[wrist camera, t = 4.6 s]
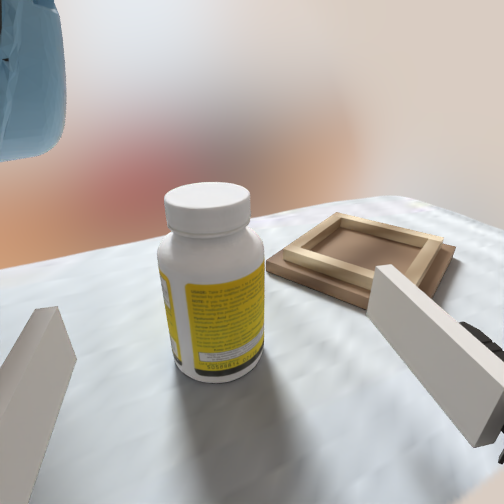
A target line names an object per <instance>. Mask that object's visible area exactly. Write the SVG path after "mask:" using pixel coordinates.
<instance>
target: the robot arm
mask: <svg viewBox="0 0 504 504" xmlns="http://www.w3.org/2000/svg"><path fill="white" fill-rule="evenodd" d="M65 117H66V74H65V60H64V48H63V38H62V31H61V23H60V16H59V14H58V11H57V9H56V6H55V4H54V0H0V162H4V161H11V160H17V159H22V158H29V157H35V156H39V155H41V154H44V153H46V152H48V151H49V150H50V149H52V148H53V147H54V146H55V145H56V144H57V143H58V141H59V140H60V138H61V135H62V133H63V129H64V124H65ZM366 315H367V316H368V318H369V319H370V320H371V321H372V323H373V324H374V325H375V326H376V328H377V329H378V330H379V331H380V333H381V334H382V335H383V336H384V338H385V339H386V340H387V341H388V343H389V344H390V345H391V346H392V348H393V349H394V350H395V351H396V353H397V354H398V355H399V356H400V358H401V359H402V360H403V361H404V363H405V364H406V365H407V366H408V368H409V369H410V370H411V371H412V373H413V374H414V375H415V376H416V378H417V379H418V380H419V381H420V383H421V384H422V385H423V386H424V388H425V389H426V390H427V391H428V392H429V394H430V395H431V396H432V397H433V399H434V400H435V401H436V402H437V404H438V405H439V406H440V407H441V409H442V410H443V411H444V412H445V414H446V415H447V416H448V417H449V419H450V420H451V421H452V422H453V424H454V425H455V426H456V427H457V429H458V430H459V431H460V432H461V434H462V435H463V436H464V437H465V439H466V440H467V441H468V442H469V444H470V445H471V446H472V447H473V448H477V447H481V446H485V445H489V444H493V443H494V442H495V441H496V439H497V437H498V435H499V434H500V432H501V431H502V432H503V433H504V351H502V348H501V347H499V346H498V345H497V344H496V343H495V342H494V343H493V342H492V340H491V339H490V338H489V337H487V336H486V335H485V334H484V333H483V332H481V331H480V330H479V329H477V328H475V327H473V326H471V325H469V324H467V323H465V322H459V323H458V322H457V321H456V320H455V319H454V318H452V317H451V316H450V315H449V314H448V313H447V312H446V311H444V310H443V309H442V308H441V307H440V306H439V305H438V304H436V303H435V302H434V301H433V300H432V299H431V298H429V297H428V296H427V295H426V294H425V293H424V292H423V291H421V290H420V289H419V288H418V287H417V286H416V285H415V284H413V283H412V282H411V281H410V280H409V279H408V278H406V277H405V276H404V275H403V274H402V273H401V272H400V271H398V270H397V269H396V268H395V267H394V266H393V265H392V264H389V265H381V266H376V267H375V272H374V277H373V282H372V288H371V293H370V298H369V303H368V308H367V313H366ZM76 360H77V358H76V355H75V353H74V350H73V347H72V345H71V342H70V339H69V336H68V334H67V331H66V328H65V325H64V323H63V320H62V317H61V314H60V312H59V309H58V306H55V307H48V308H40V309H35V310H34V312H33V314H32V315H31V317H30V319H29V320H28V322H27V324H26V326H25V327H24V329H23V331H22V332H21V334H20V336H19V337H18V339H17V341H16V343H15V344H14V346H13V348H12V349H11V351H10V353H9V354H8V356H7V358H6V360H5V361H4V363H3V365H2V366H1V368H0V504H28V502H29V499H30V496H31V493H32V490H33V487H34V485H35V482H36V479H37V476H38V473H39V470H40V467H41V464H42V461H43V458H44V455H45V452H46V449H47V446H48V443H49V440H50V437H51V434H52V431H53V428H54V425H55V422H56V419H57V417H58V414H59V411H60V408H61V405H62V402H63V399H64V396H65V393H66V390H67V387H68V384H69V381H70V378H71V375H72V372H73V369H74V366H75V363H76ZM498 463H500V464H503V463H504V449H503V451H502V453H501V454H500V456H499V460H498Z"/></svg>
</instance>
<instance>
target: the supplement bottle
mask: <svg viewBox="0 0 504 504" xmlns="http://www.w3.org/2000/svg"><path fill="white" fill-rule="evenodd" d="M164 204H165V212H166V219H167V225H168V228H169V229H170V230H171V231H172V232H170V233H169V234H167V235H166V236H165V237H164V238H163V240H162V241H161V243H160V245H159V247H158V251H157V259H158V267H159V273H160V279H161V285H162V291H163V297H164V303H165V309H166V316H167V322H168V327H169V334H170V340H171V346H172V352H173V356H174V359H175V362H176V364H177V366H178V367H179V369H180V370H181V371H182V372H183V373H184V374H186V375H187V376H189V377H190V378H192V379H195V380H198V381H201V382H206V383H223V382H229V381H232V380H235V379H237V378H240V377H242V376H243V375H245V374H247V373H248V372H249V371H251V370H252V369H253V368H254V367H255V365H256V364H257V363H258V361H259V359H260V357H261V355H262V352H263V346H264V271H265V264H264V246H263V242H262V240H261V238H260V237H259V235H258V234H257V233H256V232H255V231H254V230H253V229H251V228H250V227H248V226H247V225H248V224H249V222H250V216H251V211H250V193H249V191H248V190H247V189H245V188H244V187H242V186H239V185H235V184H230V183H221V182H203V183H195V184H189V185H184V186H180V187H178V188H175V189H173V190H171V191H169V192H168V193H167V194H166V195H165V197H164Z"/></svg>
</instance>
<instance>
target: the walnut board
mask: <svg viewBox="0 0 504 504" xmlns="http://www.w3.org/2000/svg"><path fill="white" fill-rule="evenodd" d="M443 239H444V238H443V237H439V236H435V235H431V234H427V233H422V232H418V231H414V230H410V229H405V228H401V227H397V226H393V225H388V224H384V223H380V222H376V221H372V220H367V219H363V218H359V217H355V216H350V215H346V214H342V213H338V212H336V213H335V214H333V215H332V216H330V217H329V218H327V219H326V220H324V221H323V222H321V223H320V224H318V225H317V226H316V227H314V228H313V229H311V230H310V231H308V232H307V233H305V234H304V235H302V236H301V237H299V238H298V239H297V240H295V241H294V242H292V243H291V244H289V245H288V246H286V247H285V248H283V249H282V250H281V251H279V252H278V253H276V254H275V255H273V256H272V257H270V258H269V259H267V260H266V271H268V272H270V273H273V274H276V275H278V276H281V277H283V278H286V279H288V280H291V281H293V282H296V283H299V284H301V285H304V286H306V287H309V288H311V289H314V290H317V291H319V292H322V293H324V294H327V295H329V296H332V297H335V298H337V299H340V300H342V301H345V302H347V303H350V304H353V305H355V306H358V307H360V308H363V309H365V310H367V308H368V303H369V298H370V293H371V288H372V282H373V277H374V272H375V267H376V266H381V265H389V264H392V265H393V266H394V267H395V268H396V269H397V270H398V271H400V272H401V273H402V274H403V275H404V276H405V277H406V278H408V279H409V280H410V281H411V282H412V283H413V284H415V285H416V286H417V287H418V288H419V289H420V290H421V291H423V292H424V293H425V294H426V295H427V296H428V297H429V298H431V299H432V298H433V296H434V294H435V292H436V290H437V288H438V286H439V284H440V282H441V280H442V278H443V276H444V274H445V272H446V269H447V267H448V265H449V263H450V261H451V259H452V257H453V254H454V251H455V248H456V247H455V246H451V245H447V244H442V243H443Z"/></svg>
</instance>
